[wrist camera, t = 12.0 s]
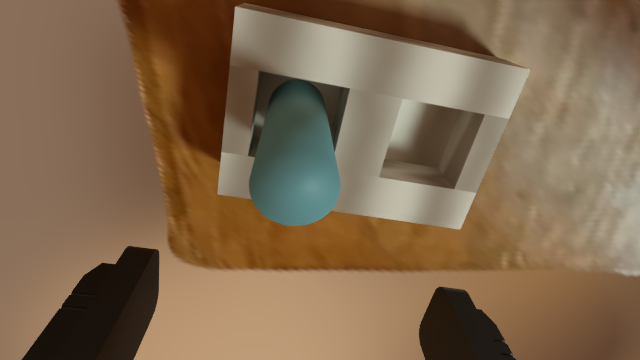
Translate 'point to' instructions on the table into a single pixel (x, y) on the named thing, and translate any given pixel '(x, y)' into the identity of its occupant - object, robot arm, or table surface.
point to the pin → (295, 158)
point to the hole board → (373, 111)
